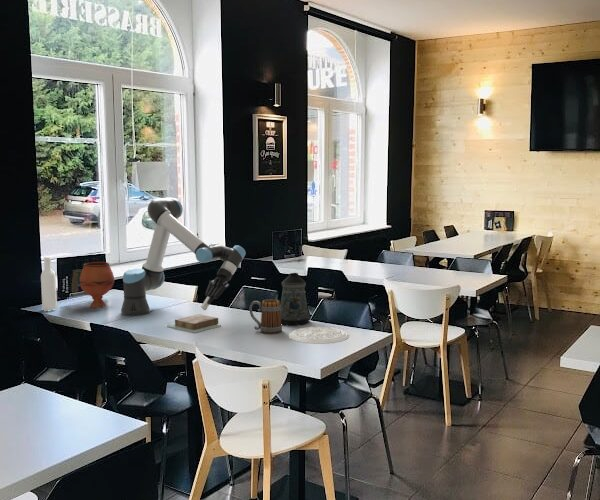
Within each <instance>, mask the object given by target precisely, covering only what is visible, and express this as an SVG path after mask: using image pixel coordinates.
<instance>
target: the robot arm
mask: <svg viewBox="0 0 600 500" xmlns="http://www.w3.org/2000/svg"><path fill="white" fill-rule="evenodd" d="M183 209H184V208H183V205H182V203H181V202H180V200H179V199H178V198H175V197H163V198H162V197H161V198H160V197H158V198H154V199H152V200H151V201H150V202H149V203H148V206H147V214H148V216H149V218H150V219H151V220H152V221H153V222H154V223H155V227H154V230H153V234H152V238H151V243H150V247H149V250H148V253H147V258H146V261H145V262H144V263H143V264H142V267H141V268H134V269H128V270H126V271H125V272H124V273H123V278H122V282H123V283H122V284H123V302H122V305H121V309H120V314H122V315H123V316H141V315H147V314H150V312H151V311H150V306H149V303H148V300H147V291H151V290H156V289H158V288H160V287H161V286H162V285H163V284H164V282H165V273H164V267H163V266H162V265H163V262H164V257H165V254H166V251H167V246H168V243H169V242H168V241H169V238H170V234H171V235H172V236H173V237H175V238H176V239H177V240H178V241H179V242H180V243H182V245H184V246H185V247H186V248H188V250H190V251H191V252H192V253H193V254H194V255H195V258H196V260H197V262H198V263H201V264H202V263H209V262H214V261H218V260H220V261H223V263H222V265H221V266H220V268H219V269H218V271H217V273H216V277H215V278H214V279H213V280H212V279H210V280H208V282H209V283H208V286H207V288H206V290H205V291H204V295H205V298H204V300H203V303H202V305H200V307H201V309H202V310H203V311H207V310H208V307H209V306H210V305H211V304H212V302H213V301H214V300H218V298H220V296H221V295H222V294H223V293H224V292H225V290H226V289H227V288H229V287H230V284H229V283H228V282H230V281H231V279H232V278H233V275H234V274H235V272H236V271H237V269H238V267H239V266H240V265H241V263H242V261H244V258H245V256H246V254H247V253H246V250H245V248H243V247H242V246H241V245H234V246H233V247H227V246H224V245H223V244H220V243H216V242H211V243H210V244H209V245H207V244H206V243H205V242H204V241H203V240H201V239H200V238H199V237H198V236H197V235H195V233H193V232H192V231H191V230H190V229H189V228H188V227H186V226H185V225H184V224H182V223H181V221H179V220H178V219H179V218H180V217H182V215H183V213H184V212H183V211H184V210H183Z"/></svg>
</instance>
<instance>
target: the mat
mask: <svg viewBox="0 0 600 500" xmlns="http://www.w3.org/2000/svg"><path fill="white" fill-rule="evenodd" d="M221 326H222V325H221V324H219V323H218V324H216V325H212V326H208V327H204V328H200V329H196V330H193V329H188V328H184V327H179V326H175V323H174V324H170V325H167V328H170V329H175V330H178V331H184V332H188V333H192V334H193V333H194V334H196V333H200V332H204V331H208V330H211V329H215V328H219V327H221Z"/></svg>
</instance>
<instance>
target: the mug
mask: <svg viewBox="0 0 600 500" xmlns="http://www.w3.org/2000/svg"><path fill="white" fill-rule="evenodd" d="M255 304H257V305H259V308H258V309H257V311H258V312H260V313H261V318H260V321H259V319H258V318H256V317H255V315H254V313H253V305H255ZM280 305H281V301H280V300H279V299H273V298H271V299H270V298H269V299H263V300H262V302H261V301H258V300H253V301H252V302H251V303H250V305H249V307H248V308H249V314H250V317H251V318H252V320H253V321H254V322H255V323H256V324H257V325H254V327H253V328H254V329H255V331H260V333H262V334H265V335H277V334H280V333H281V332H282V331H283V327H282V326H283V325H281V313H280Z"/></svg>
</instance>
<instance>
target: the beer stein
mask: <svg viewBox="0 0 600 500" xmlns="http://www.w3.org/2000/svg"><path fill="white" fill-rule="evenodd" d="M306 284H307V281H305V280H304V279H303V278H302V277H301V276H300V275H299V273H298V272H291V273H289V274H288V276H287V277H286V278H285V279H283V281H281V286H282V293H281V298H280V313H281V324H282V326H286V325H288V326H287V327H300V326H306V325H308V324H309V323H310V318H311V316H310V313H309V310H308V304H307V302H308V301H307V296H306V290H305V289H306ZM299 325H300V326H299Z"/></svg>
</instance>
